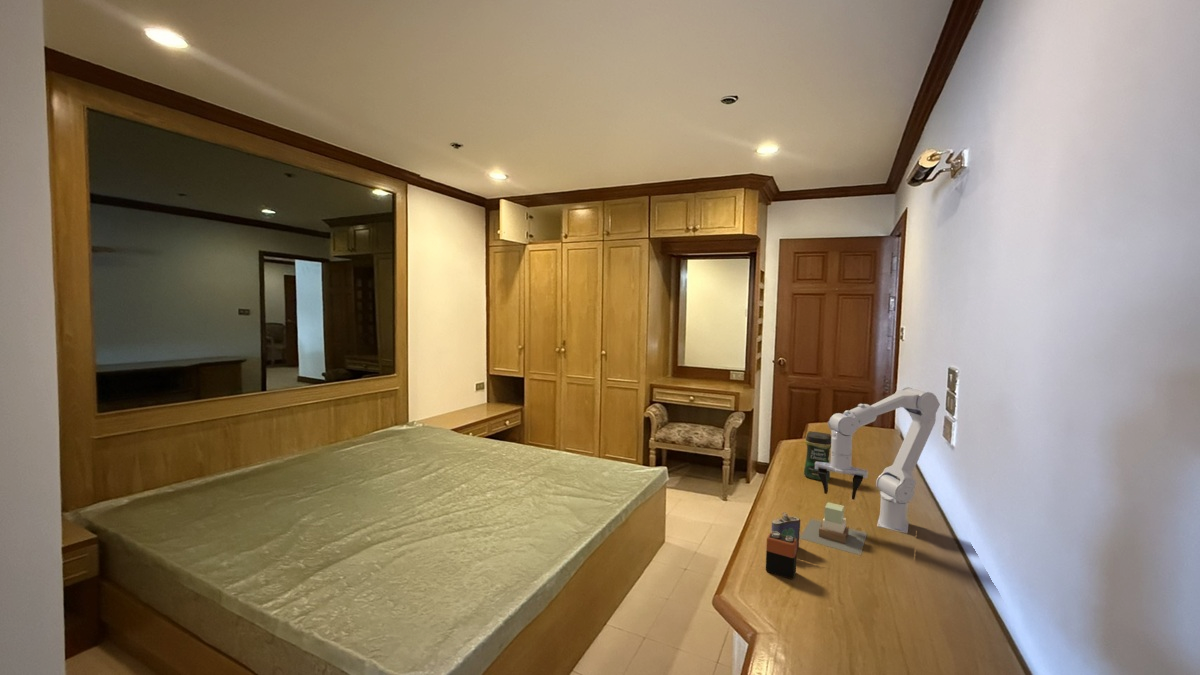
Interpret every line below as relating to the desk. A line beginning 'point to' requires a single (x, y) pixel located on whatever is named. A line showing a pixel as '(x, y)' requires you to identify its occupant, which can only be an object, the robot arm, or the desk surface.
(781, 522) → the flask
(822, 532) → the walnut slab
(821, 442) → the coffee jar
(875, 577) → the desk surface
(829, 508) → the green block
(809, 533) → the mat
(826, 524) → the white slab
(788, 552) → the battery
